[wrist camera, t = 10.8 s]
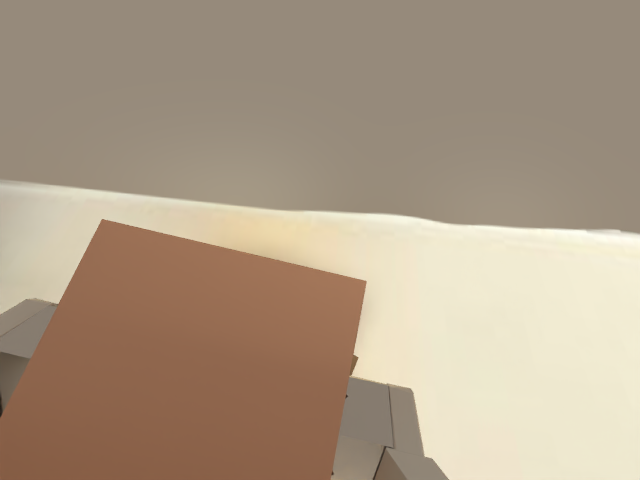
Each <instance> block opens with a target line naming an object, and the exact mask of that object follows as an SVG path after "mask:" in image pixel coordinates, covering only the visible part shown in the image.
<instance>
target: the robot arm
mask: <svg viewBox="0 0 640 480" xmlns="http://www.w3.org/2000/svg"><path fill="white" fill-rule="evenodd" d="M57 306H58V304H54V303H51V302H47V301H43V300H39V299H36V298H35V299H26V300H24V301H23V302H21V303H19V304H18V305H16V306H14V307H13V308H11V309H9V310H8V311H6V312H4V313H3V314H1V315H0V417H1V416H2V414H3V412H4V410H5V408H6V406H7V404H8V402H9V400H10V398H11V396H12V394H13V392H14V390H15V388H16V386H17V384H18V382H19V380H20V378H21V376H22V374H23V373H24V371H25V369H26V367H27V365H28V363H29V361H30V359H31V357H32V355H33V353H34V351H35V349H36V347H37V345H38V343H39V341H40V339H41V337H42V335H43V333H44V332H45V330H46V328H47V326H48V324H49V322H50V320H51V318H52V316H53V314H54V312H55V310H56V308H57ZM331 480H449V479H448V478H447V477H446V475H445V474H444V473H443V472H442V470H441V469H440V468H439V466H438V465H437V464H436V463H435V461H434V460H433V459H431V458H427V457H425V456H424V450H423V445H422V439H421V433H420V427H419V422H418V416H417V410H416V405H415V399H414V393H413V391H412V390H411V389H410V388H406V387H401V386H396V385H392V384H384V383H380V382H375V381H371V380H367V379H363V378H358V377H354V376H350V375H349V381H348V386H347V392H346V397H345V403H344V408H343V414H342V419H341V425H340V430H339V436H338V441H337V447H336V452H335V458H334V463H333V469H332V475H331Z"/></svg>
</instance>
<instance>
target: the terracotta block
mask: <svg viewBox="0 0 640 480" xmlns="http://www.w3.org/2000/svg"><path fill="white" fill-rule="evenodd" d="M365 287H366V281H364V280H360V279H355V278H351V277H347V276H343V275H338V274H334V273H330V272H325V271H321V270H317V269H313V268H308V267H304V266H300V265H296V264H291V263H287V262H283V261H279V260H274V259H270V258H266V257H261V256H257V255H253V254H249V253H244V252H240V251H236V250H232V249H227V248H223V247H219V246H215V245H210V244H206V243H202V242H198V241H193V240H189V239H185V238H180V237H176V236H172V235H168V234H163V233H159V232H155V231H151V230H146V229H142V228H138V227H134V226H129V225H125V224H121V223H116V222H112V221H108V220H104V219H102V220H101V222H100V224H99V226H98V228H97V230H96V232H95V234H94V236H93V238H92V240H91V242H90V244H89V246H88V248H87V250H86V251H85V253H84V255H83V257H82V259H81V261H80V263H79V265H78V267H77V269H76V271H75V273H74V275H73V277H72V279H71V281H70V283H69V285H68V287H67V289H66V291H65V292H64V294H63V296H62V298H61V300H60V302H59V304H58V306H57V308H56V310H55V312H54V314H53V316H52V318H51V320H50V322H49V324H48V326H47V328H46V330H45V332H44V333H43V335H42V337H41V339H40V341H39V343H38V345H37V347H36V349H35V351H34V353H33V355H32V357H31V359H30V361H29V363H28V365H27V367H26V369H25V371H24V373H23V374H22V376H21V378H20V380H19V382H18V384H17V386H16V388H15V390H14V392H13V394H12V396H11V398H10V400H9V402H8V404H7V406H6V408H5V410H4V412H3V414H2V416H1V417H0V480H331V475H332V469H333V463H334V458H335V452H336V447H337V441H338V436H339V430H340V425H341V419H342V414H343V408H344V403H345V397H346V392H347V386H348V381H349V375H350V370H351V364H352V359H353V353H354V348H355V342H356V337H357V331H358V326H359V320H360V315H361V309H362V304H363V298H364V293H365Z"/></svg>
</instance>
